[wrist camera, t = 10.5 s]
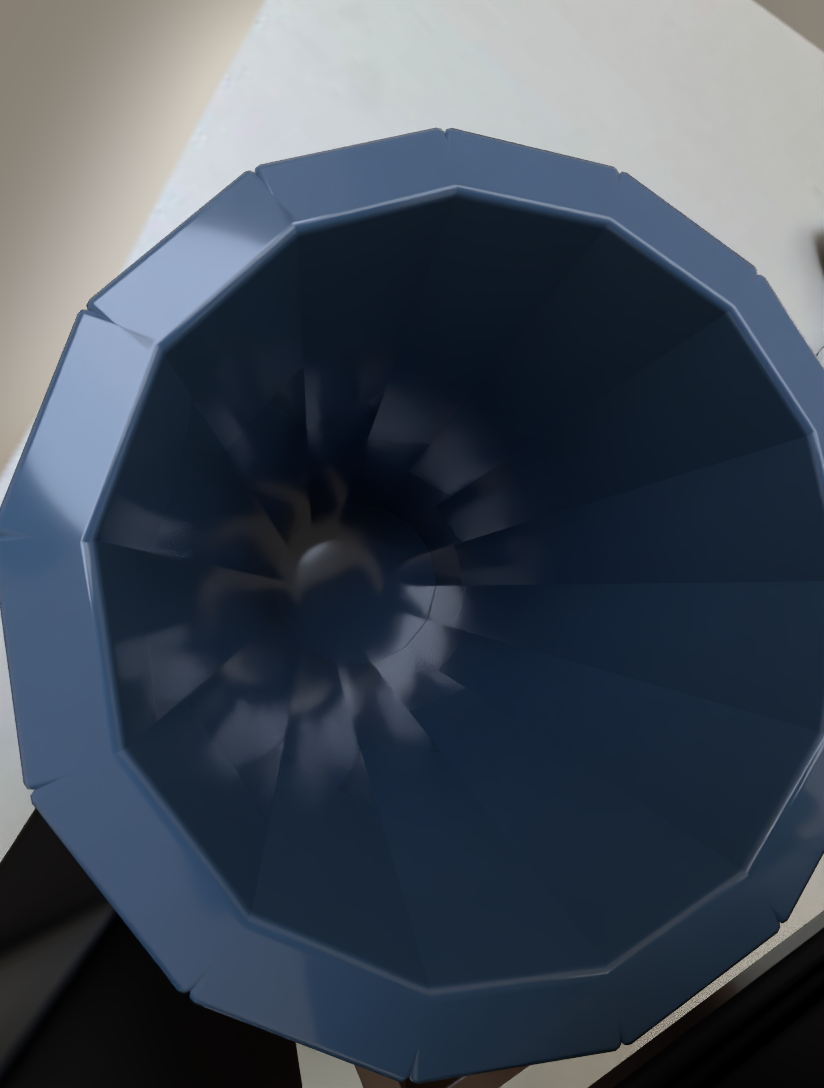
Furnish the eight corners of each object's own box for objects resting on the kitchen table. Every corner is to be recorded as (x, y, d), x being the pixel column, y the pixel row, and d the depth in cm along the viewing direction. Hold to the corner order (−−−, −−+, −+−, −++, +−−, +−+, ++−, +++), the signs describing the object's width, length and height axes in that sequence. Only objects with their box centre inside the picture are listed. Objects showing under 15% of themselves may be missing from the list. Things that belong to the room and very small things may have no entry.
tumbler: (442, 676, 16) (922, 1004, 3) (252, 675, 15) (-98, 1179, 2) (448, 500, 17) (875, 224, 4) (266, 486, 15) (52, 27, 3)
